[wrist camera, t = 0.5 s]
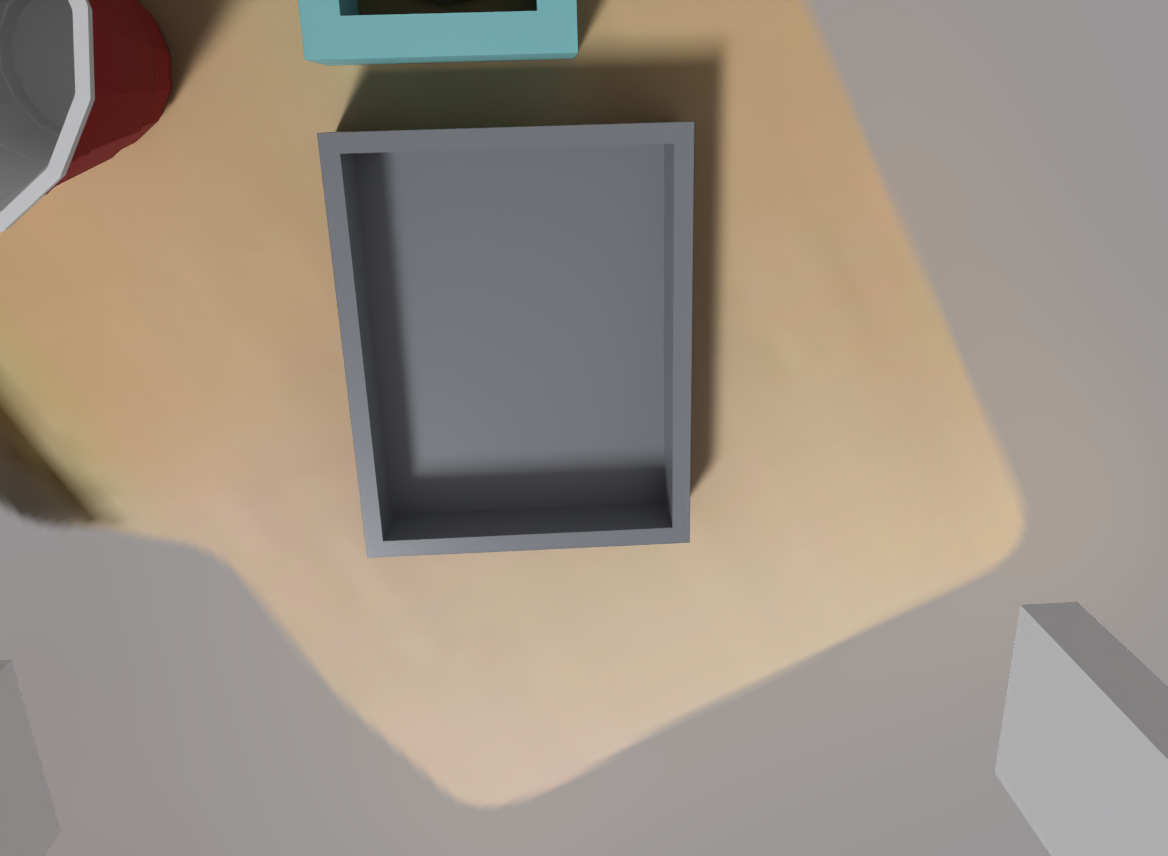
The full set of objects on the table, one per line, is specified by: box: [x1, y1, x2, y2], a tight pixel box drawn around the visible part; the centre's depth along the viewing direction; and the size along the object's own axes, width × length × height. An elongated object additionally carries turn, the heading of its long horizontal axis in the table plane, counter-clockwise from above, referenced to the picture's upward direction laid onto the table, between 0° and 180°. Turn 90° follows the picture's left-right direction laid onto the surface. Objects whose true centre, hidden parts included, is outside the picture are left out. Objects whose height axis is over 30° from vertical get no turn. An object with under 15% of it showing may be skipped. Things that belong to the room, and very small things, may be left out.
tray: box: [317, 121, 694, 558], centre depth 35 cm, size 16×13×3 cm
